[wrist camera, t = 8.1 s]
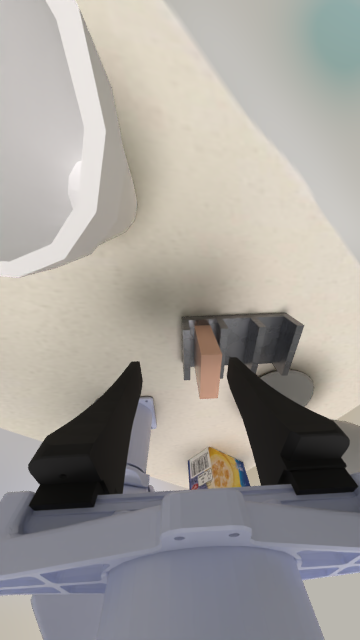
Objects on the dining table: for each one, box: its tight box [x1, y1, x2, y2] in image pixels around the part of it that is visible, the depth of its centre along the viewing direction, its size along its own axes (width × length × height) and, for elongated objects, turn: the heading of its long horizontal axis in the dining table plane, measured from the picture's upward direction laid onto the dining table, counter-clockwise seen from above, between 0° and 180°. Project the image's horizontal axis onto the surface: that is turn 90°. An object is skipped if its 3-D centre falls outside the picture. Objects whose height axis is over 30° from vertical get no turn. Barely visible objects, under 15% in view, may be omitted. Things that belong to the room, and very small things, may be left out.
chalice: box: [260, 370, 360, 475], centre depth 22 cm, size 14×14×15 cm
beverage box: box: [188, 447, 250, 490], centre depth 28 cm, size 7×11×22 cm, turn 50°
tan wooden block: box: [194, 325, 222, 399], centre depth 20 cm, size 2×6×6 cm, turn 1°
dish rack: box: [182, 313, 304, 380], centre depth 22 cm, size 14×8×4 cm, turn 92°
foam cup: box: [0, 0, 138, 278], centre depth 10 cm, size 10×9×13 cm
